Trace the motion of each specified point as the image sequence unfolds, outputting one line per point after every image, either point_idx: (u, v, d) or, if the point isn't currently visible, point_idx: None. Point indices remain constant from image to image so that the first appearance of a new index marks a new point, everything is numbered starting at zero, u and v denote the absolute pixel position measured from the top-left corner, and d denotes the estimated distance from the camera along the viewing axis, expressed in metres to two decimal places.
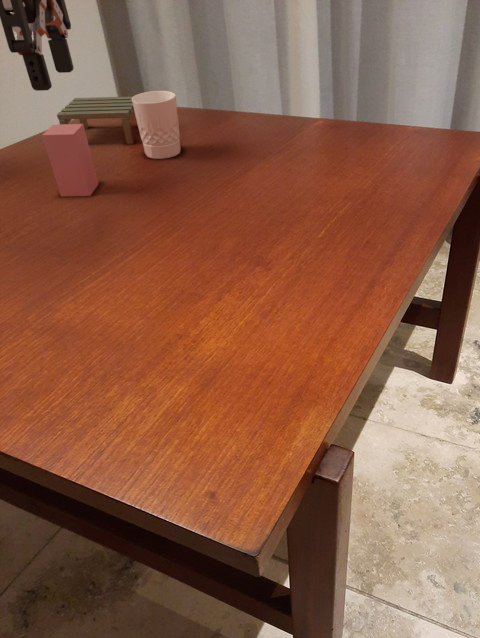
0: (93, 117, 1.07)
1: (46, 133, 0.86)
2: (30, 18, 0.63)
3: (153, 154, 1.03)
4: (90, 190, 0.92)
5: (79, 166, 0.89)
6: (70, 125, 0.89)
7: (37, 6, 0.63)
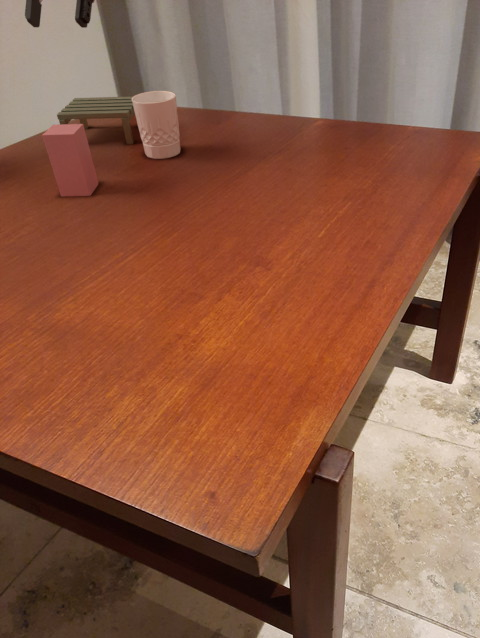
0: (93, 117, 1.07)
1: (46, 133, 0.86)
2: None
3: (153, 154, 1.03)
4: (90, 190, 0.92)
5: (79, 166, 0.89)
6: (70, 125, 0.89)
7: None
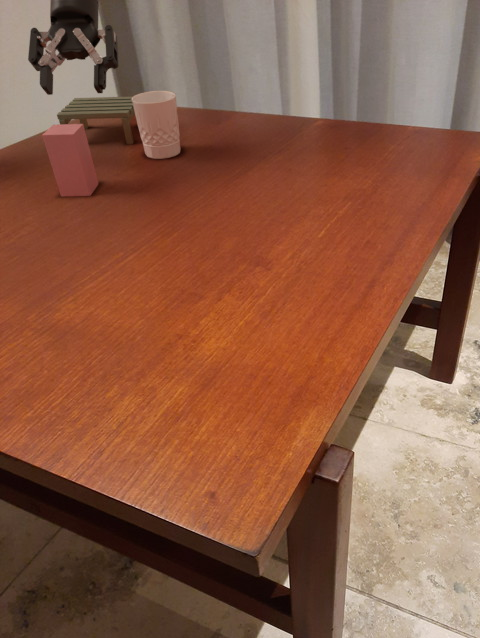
0: (93, 117, 1.07)
1: (46, 133, 0.86)
2: None
3: (153, 154, 1.03)
4: (90, 190, 0.92)
5: (79, 166, 0.89)
6: (70, 125, 0.89)
7: None
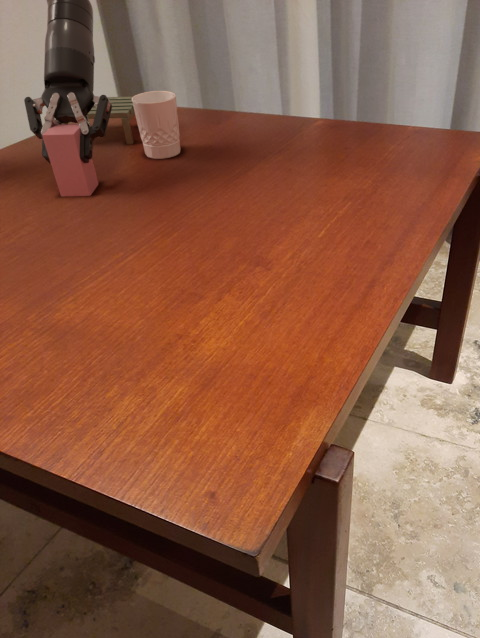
0: (93, 117, 1.07)
1: (46, 133, 0.86)
2: (85, 114, 0.90)
3: (153, 154, 1.03)
4: (90, 190, 0.92)
5: (79, 166, 0.89)
6: (70, 125, 0.89)
7: None
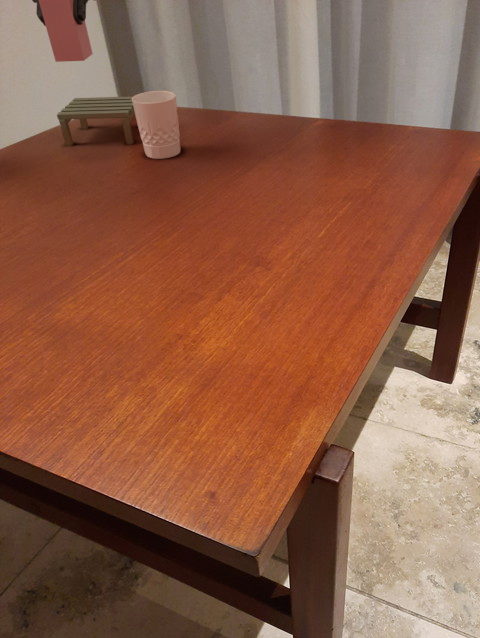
0: (93, 117, 1.07)
1: None
2: None
3: (153, 154, 1.03)
4: (84, 55, 0.94)
5: (72, 27, 0.91)
6: None
7: None
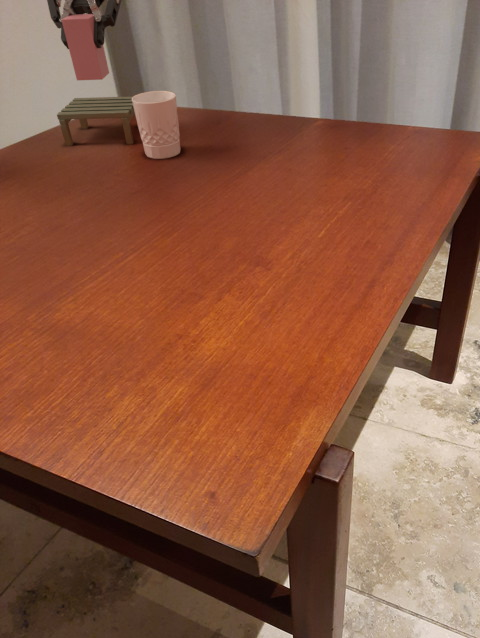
0: (93, 117, 1.07)
1: (64, 18, 1.00)
2: (98, 6, 1.03)
3: (153, 154, 1.03)
4: (102, 74, 1.06)
5: (92, 50, 1.03)
6: (85, 14, 1.03)
7: None
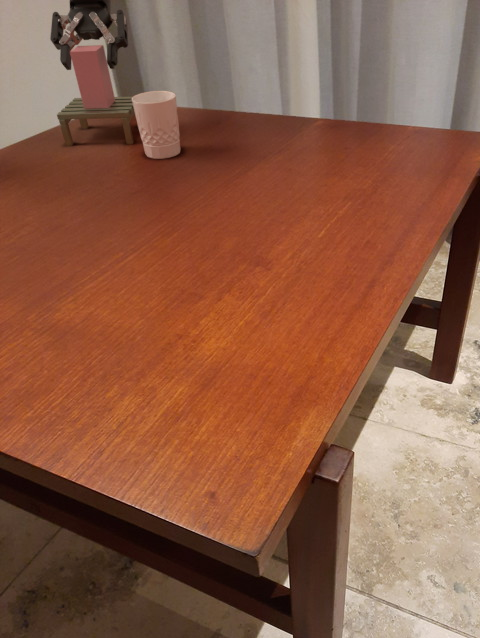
0: (93, 117, 1.07)
1: (73, 50, 1.03)
2: None
3: (153, 154, 1.03)
4: (109, 103, 1.09)
5: (99, 80, 1.06)
6: (92, 46, 1.06)
7: None
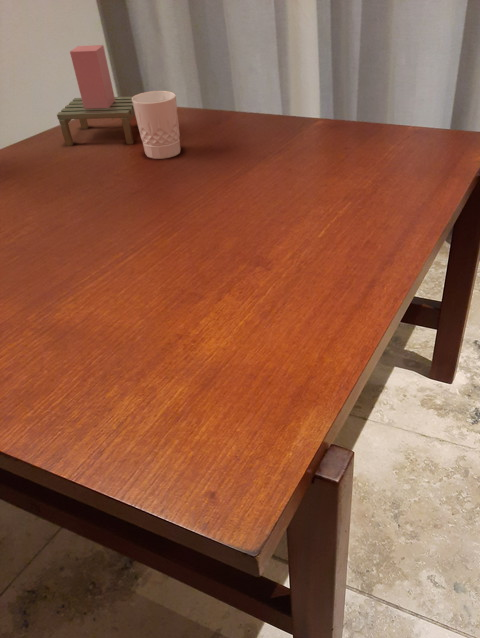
0: (93, 117, 1.07)
1: (73, 50, 1.03)
2: None
3: (153, 154, 1.03)
4: (109, 103, 1.09)
5: (99, 80, 1.06)
6: (92, 46, 1.06)
7: None
